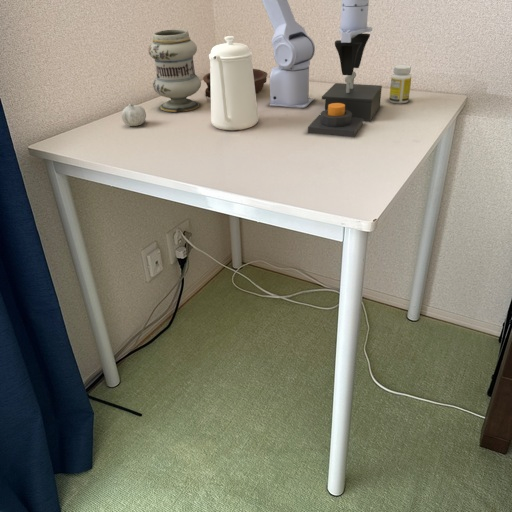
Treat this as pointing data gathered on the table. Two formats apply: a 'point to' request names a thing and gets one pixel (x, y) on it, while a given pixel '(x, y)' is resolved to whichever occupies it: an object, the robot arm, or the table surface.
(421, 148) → the table surface
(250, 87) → the coffeepot
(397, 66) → the supplement bottle
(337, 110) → the button
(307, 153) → the table surface
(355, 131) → the orange push button box
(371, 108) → the dark grey lipped box
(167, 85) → the apothecary jar
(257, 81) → the dish
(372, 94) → the lid
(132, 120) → the garlic
